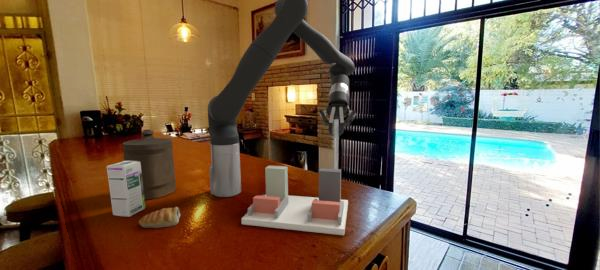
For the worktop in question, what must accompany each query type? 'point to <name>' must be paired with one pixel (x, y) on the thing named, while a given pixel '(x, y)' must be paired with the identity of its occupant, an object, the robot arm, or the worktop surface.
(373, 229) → the worktop surface
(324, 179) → the grey upright block
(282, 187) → the pale green tall block
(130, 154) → the grey canister
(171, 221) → the pastry
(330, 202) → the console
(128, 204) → the syrup box
